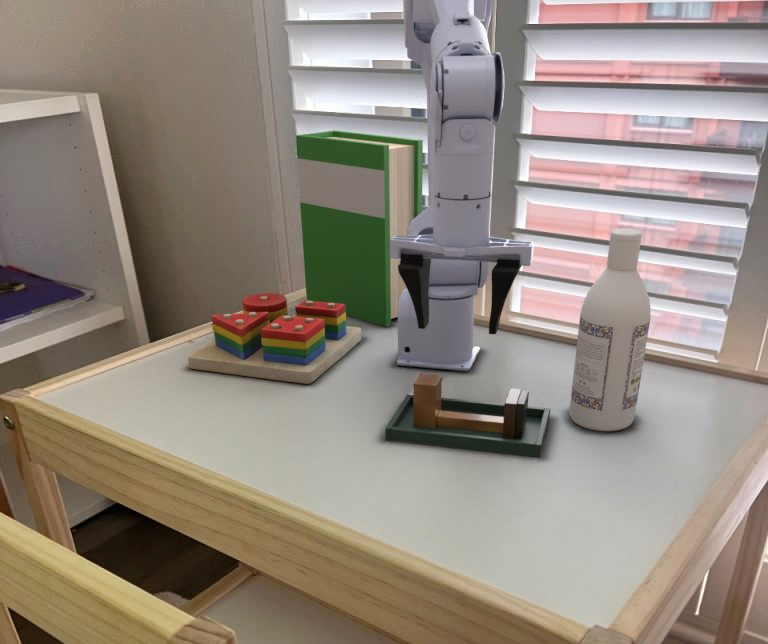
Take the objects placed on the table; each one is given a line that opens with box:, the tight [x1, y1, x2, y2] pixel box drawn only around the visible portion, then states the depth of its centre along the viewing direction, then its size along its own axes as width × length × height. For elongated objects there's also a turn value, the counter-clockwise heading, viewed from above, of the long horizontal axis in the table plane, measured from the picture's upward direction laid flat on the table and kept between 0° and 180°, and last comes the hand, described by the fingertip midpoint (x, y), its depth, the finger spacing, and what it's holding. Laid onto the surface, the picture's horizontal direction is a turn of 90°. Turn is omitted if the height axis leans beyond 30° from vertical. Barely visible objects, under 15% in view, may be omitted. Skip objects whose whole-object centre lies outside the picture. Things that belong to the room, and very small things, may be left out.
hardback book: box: [295, 130, 424, 328], centre depth 117 cm, size 18×7×24 cm, turn 45°
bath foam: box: [569, 227, 651, 432], centre depth 83 cm, size 7×7×20 cm
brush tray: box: [384, 394, 551, 458], centre depth 86 cm, size 16×9×1 cm, turn 74°
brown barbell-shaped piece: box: [413, 372, 530, 439], centre depth 85 cm, size 12×4×5 cm, turn 74°
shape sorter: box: [187, 292, 362, 385], centre depth 106 cm, size 18×17×6 cm
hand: (458, 328), depth 86 cm, fingers open, 7 cm apart
